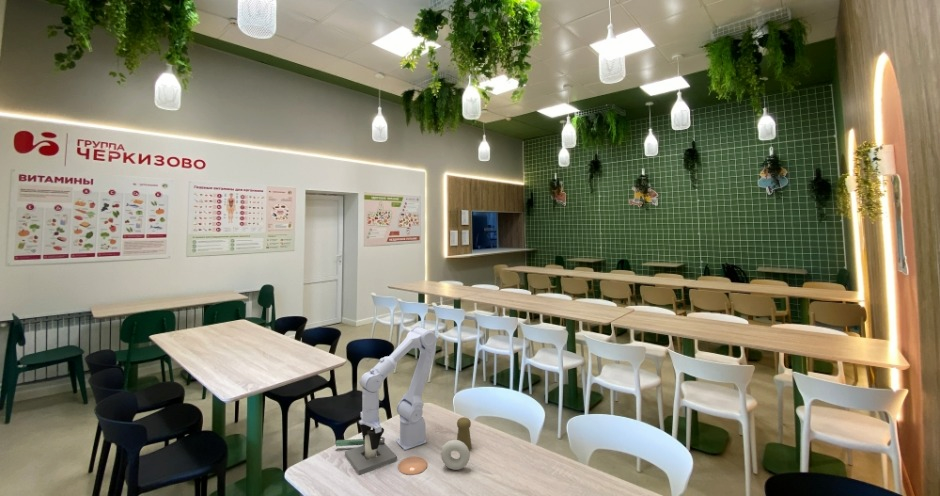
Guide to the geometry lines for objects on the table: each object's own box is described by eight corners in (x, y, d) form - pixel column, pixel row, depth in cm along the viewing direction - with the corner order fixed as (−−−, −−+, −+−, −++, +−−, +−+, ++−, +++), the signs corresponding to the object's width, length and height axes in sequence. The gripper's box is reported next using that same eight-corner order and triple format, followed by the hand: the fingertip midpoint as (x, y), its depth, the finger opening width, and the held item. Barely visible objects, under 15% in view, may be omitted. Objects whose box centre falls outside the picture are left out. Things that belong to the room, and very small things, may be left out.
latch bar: (384, 441, 147) (384, 436, 146) (384, 444, 144) (384, 440, 144) (336, 443, 144) (336, 439, 144) (335, 447, 142) (335, 442, 142)
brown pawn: (470, 453, 142) (470, 423, 141) (454, 451, 143) (454, 422, 142) (473, 444, 148) (473, 416, 147) (457, 442, 149) (457, 414, 148)
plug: (373, 453, 141) (373, 432, 141) (378, 458, 138) (378, 436, 137) (363, 457, 138) (363, 435, 138) (367, 462, 135) (367, 440, 135)
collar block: (381, 443, 148) (381, 439, 148) (397, 460, 137) (397, 456, 137) (344, 455, 140) (344, 451, 139) (358, 475, 128) (358, 470, 128)
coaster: (418, 454, 141) (418, 453, 141) (432, 467, 132) (432, 466, 132) (393, 463, 135) (393, 462, 135) (406, 478, 127) (406, 477, 127)
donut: (470, 467, 133) (470, 438, 133) (468, 473, 130) (469, 444, 129) (441, 464, 134) (442, 436, 134) (439, 470, 131) (439, 441, 131)
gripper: (352, 402, 141) (352, 438, 141) (367, 417, 129) (367, 457, 130) (370, 397, 145) (370, 432, 145) (387, 412, 133) (387, 450, 134)
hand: (370, 444), depth 138 cm, fingers open, 7 cm apart
